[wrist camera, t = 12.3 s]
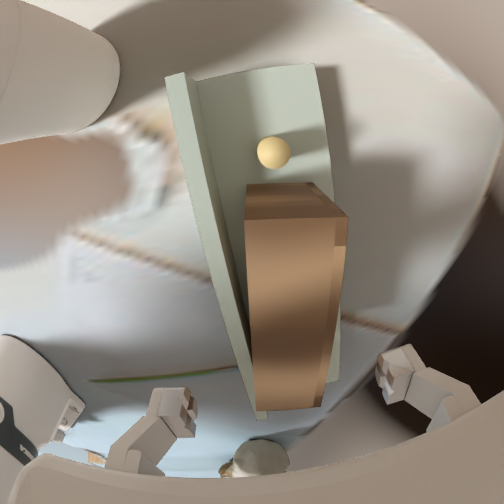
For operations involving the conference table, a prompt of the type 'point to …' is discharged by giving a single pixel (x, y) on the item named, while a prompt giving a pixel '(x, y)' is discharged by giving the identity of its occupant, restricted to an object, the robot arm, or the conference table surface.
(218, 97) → the ledge
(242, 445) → the ceramic sculpture
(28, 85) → the pill bottle
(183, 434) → the robot arm
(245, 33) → the conference table surface
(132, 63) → the conference table surface
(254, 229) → the wooden box
